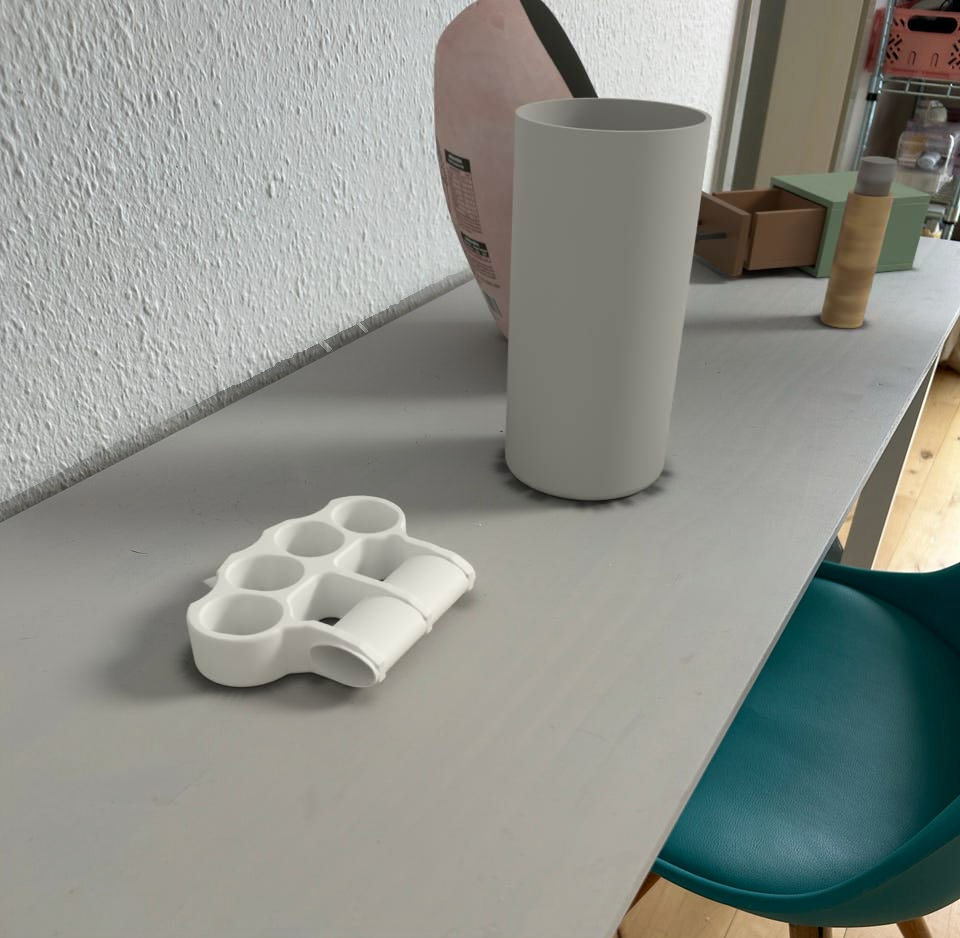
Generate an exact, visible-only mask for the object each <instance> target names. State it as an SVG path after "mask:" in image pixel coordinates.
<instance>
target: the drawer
mask: <svg viewBox="0 0 960 938" xmlns="http://www.w3.org/2000/svg"><path fill="white" fill-rule="evenodd" d="M827 210H828V207H826V206H823V205H821V204H819V203H816V202H814V201H812V200H809V199H807V198H804V197H802V196H800V195H797V194H795V193H793V192H790V191H788V190H786V189H783V188H769V187H768V188H756V189H741V190H738V189H737V190H725V191H713V192H711V194H710V193H708V192H706V191H703V190H702V194H701V201H700V208H699V215H698V223H697V230H696V237H695V244H694V252H693V254H694V255H696V256H698V257H700V258H701V259H703V260H705V261H707V262H708V263H710V264H712V265H713V266H715V267H717V268H719V269H720V270H721V271H723V272H725V273H727V274H728V275H730V276H732V277H735V276H741V275H742V273H743V268H744V269H745V270H748V271H753V270H755V271H756V270H764V269H765V270H766V269H767V270H768V269H776V268H777V269H778V268H788V267H796V266H801V265H813V264H816V262H817V257H818V252H819V248H820V243H821V238H822V234H823V229H824V224H825V219H826V215H827Z"/></svg>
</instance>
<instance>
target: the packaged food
mask: <svg viewBox="0 0 960 938" xmlns="http://www.w3.org/2000/svg"><path fill="white" fill-rule="evenodd" d="M572 43H573V42H571V40H570V38H569V36H568V34H567V33H566V30H564V28H563V26H562V25H561V23H560V22H559V20H558V19H557V17H556V15H555V14H554V12H552V11H551V9H550V8H549V6H548V5H546V3H545V2H544V1H543V0H476V1H473V2H472V3H470V4H469V5H467V6H466V7H464V9H462V10H461V11H460V12H459V13H458V14H457V15H456V16H455V17H454V18H453V19H452V20H451V21H450V22H449V23H448V25H447V26H446V27H445V29H443V31H442V32H441V34H440V36H439V38H438V40H437V44H436V47H435V53H434V63H433V117H434V118H433V121H434V124H433V125H434V137H435V146H436V147H435V148H436V156H437V163H438V168H439V174H440V180H441V184H442V189H443V190H442V191H443V194H444V199H445V203H446V207H447V210H448V213H449V216H450V219H451V223H452V227H453V228H454V231H455V234H456V236H457V239H458V241H459V244H460V246H461V249H462V251H463V254H464V256H465V259H466V260H467V263H468V266H469V267H470V270H471V272H472V274H473V277H474V279H475V282H476V284H477V286H478V288H479V290H480V293H481V294H482V297H483V298H484V301H485V303H486V305H487V307H488V310H489V311H490V313H491V315H492V317H493V320H494V321H495V323H496V324H497V326H498V328H499V330H500V331H501V333H502V334H503V335H504V336H505V338H506V339H507V340H509V307H510V275H511V242H512V210H513V177H514V145H515V112H516V109H517V108H519V107H521V106H523V105H526V104H530V103H534V102H540V101H547V100H556V99H570V98H599V96H598V93H597V91H596V89H595V87H594V85H593V83H592V81H591V79H590V76H589V75H588V72H587V70H586V68H585V65H584V64H583V62H582V60H581V58H580V56H579V54H578V52H577V50H576V48H575V47H574V45H573V44H572Z"/></svg>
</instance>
